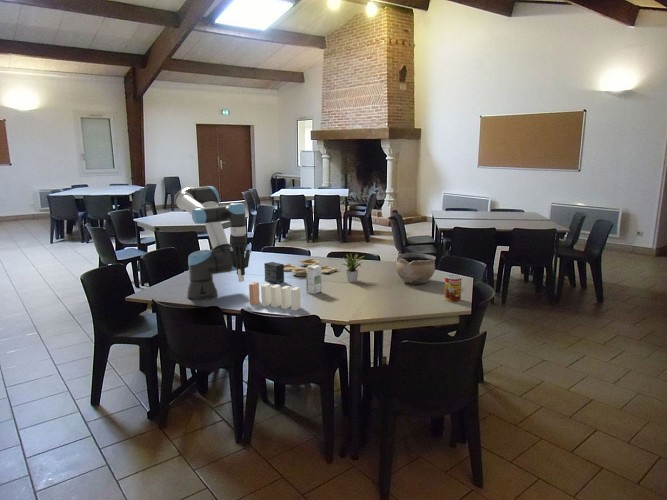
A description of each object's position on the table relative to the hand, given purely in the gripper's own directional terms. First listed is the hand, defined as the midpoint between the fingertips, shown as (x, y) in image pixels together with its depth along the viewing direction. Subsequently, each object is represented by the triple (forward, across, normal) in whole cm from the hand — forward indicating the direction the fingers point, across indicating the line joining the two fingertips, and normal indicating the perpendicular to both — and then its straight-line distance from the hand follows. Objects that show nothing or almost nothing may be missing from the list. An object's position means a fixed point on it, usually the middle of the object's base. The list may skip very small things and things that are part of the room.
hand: (241, 281), depth 248 cm
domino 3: (+11, +20, 0) cm, 22 cm away
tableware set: (+11, +1, +68) cm, 69 cm away
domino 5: (+11, +31, 0) cm, 32 cm away
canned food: (+11, +97, +41) cm, 106 cm away
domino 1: (+10, +7, 0) cm, 13 cm away
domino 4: (+11, +25, 0) cm, 27 cm away
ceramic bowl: (+11, +71, +66) cm, 97 cm away
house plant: (+11, +38, +54) cm, 67 cm away
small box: (+10, -4, +38) cm, 40 cm away
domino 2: (+11, +14, 0) cm, 18 cm away
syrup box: (+11, +27, +27) cm, 40 cm away
